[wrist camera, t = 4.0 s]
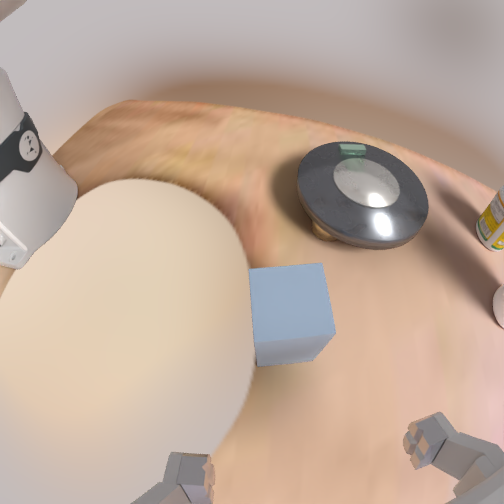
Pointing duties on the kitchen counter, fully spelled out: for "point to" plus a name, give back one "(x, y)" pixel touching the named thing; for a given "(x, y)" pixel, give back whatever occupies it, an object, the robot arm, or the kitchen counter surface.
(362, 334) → the kitchen counter surface
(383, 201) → the stand
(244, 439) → the kitchen counter surface
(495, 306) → the drinking glass
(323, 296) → the block
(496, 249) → the supplement bottle
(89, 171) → the kitchen counter surface
